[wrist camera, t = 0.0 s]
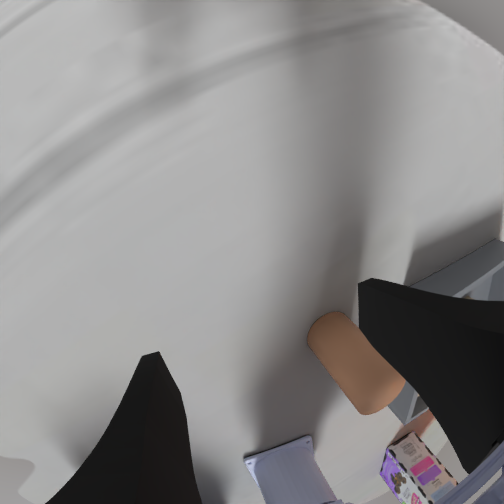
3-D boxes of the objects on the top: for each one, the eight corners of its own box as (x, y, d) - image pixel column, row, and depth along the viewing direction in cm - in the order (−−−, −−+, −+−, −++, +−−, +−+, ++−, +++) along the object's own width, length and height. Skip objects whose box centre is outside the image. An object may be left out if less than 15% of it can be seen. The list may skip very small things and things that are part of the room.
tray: (473, 345, 35) (490, 358, 32) (387, 406, 32) (404, 425, 28) (495, 238, 28) (518, 248, 25) (401, 290, 25) (430, 309, 21)
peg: (349, 341, 25) (402, 397, 18) (309, 358, 24) (356, 423, 17) (348, 305, 24) (409, 360, 16) (304, 322, 23) (358, 388, 16)
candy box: (385, 447, 38) (437, 512, 23) (413, 429, 39) (466, 489, 24) (378, 474, 43) (417, 528, 28) (402, 459, 44) (442, 510, 29)
